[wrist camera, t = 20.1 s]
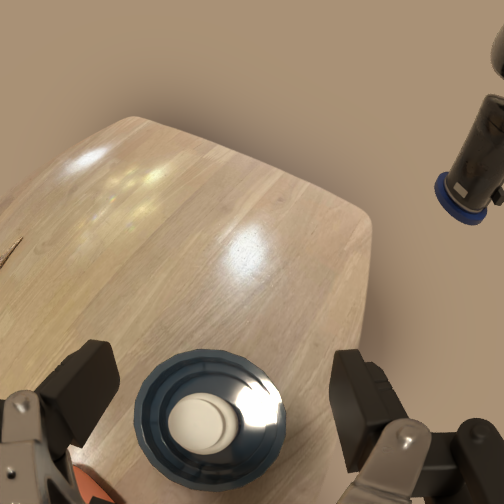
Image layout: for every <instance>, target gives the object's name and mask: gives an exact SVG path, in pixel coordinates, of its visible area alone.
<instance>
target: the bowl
mask: <svg viewBox="0 0 504 504" xmlns="http://www.w3.org/2000/svg"><path fill="white" fill-rule="evenodd" d="M194 393H208V394H212V395H215V396H217V397H220V398H222V399H224V400H226V401H228V402H230V403H231V404H232V405H233V406H234V407H235V408H236V410H237V411H238V413H239V415H240V419H241V427H240V431H239V433H238V435H237V437H236V438H235V439H234V440H233V441H232V442H231V443H230V444H229V445H228V446H227V447H226V448H225V449H223V450H222V451H219V452H217V453H214V454H207V455H202V454H196V453H193V452H190V451H188V450H186V449H185V448H183V447H182V446H181V445H180V444H178V443H177V442H176V441H175V440H174V439H173V437H172V435H171V433H170V431H169V427H168V419H169V415H170V413H171V411H172V409H173V408H174V407H175V405H176V404H177V403H178V402H179V401H180V400H181V399H182V398H184V397H186V396H188V395H191V394H194ZM133 424H134V428H135V432H136V436H137V440H138V443H139V446H140V447H141V449H142V450H143V452H144V454H145V455H146V457H147V458H148V460H149V461H150V463H151V464H152V465H153V466H154V467H155V468H156V469H157V470H158V471H160V472H161V473H162V474H163V475H164V476H166V477H167V478H168V479H170V480H171V481H173V482H175V483H178V484H180V485H182V486H185V487H187V488H190V489H193V490H200V491H209V492H221V491H226V490H231V489H236V488H241V487H243V486H245V485H247V484H248V483H250V482H252V481H254V480H255V479H257V478H259V477H260V476H262V475H263V474H264V473H265V472H266V471H267V469H268V468H269V467H270V466H271V465H272V464H273V463H274V461H275V460H276V459H277V457H278V456H279V453H280V450H281V448H282V445H283V442H284V440H285V437H286V411H285V408H284V405H283V402H282V399H281V396H280V393H279V391H278V389H277V388H276V387H275V385H274V384H273V383H272V381H271V380H270V379H269V377H268V376H267V375H266V374H265V372H264V371H263V370H261V369H260V368H258V367H257V366H256V365H254V364H253V363H251V362H250V361H249V360H247V359H246V358H244V357H241V356H238V355H235V354H232V353H229V352H227V351H224V350H211V349H196V350H192V351H188V352H184V353H180V354H177V355H174V356H173V357H171V358H169V359H168V360H166V361H164V362H163V363H161V364H159V365H158V366H157V367H156V368H155V369H154V370H153V371H152V372H151V373H150V375H149V376H148V377H147V378H146V379H145V380H144V381H143V383H142V386H141V388H140V390H139V393H138V395H137V398H136V400H135V408H134V423H133Z"/></svg>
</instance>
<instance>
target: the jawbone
mask: <svg viewBox="0 0 504 504" xmlns="http://www.w3.org/2000/svg"><path fill="white" fill-rule="evenodd" d="M22 238H23V237H22V236H21V237H20V239H19V240H18V241H17V242H16V243H15V244H14V245H13V246H11V247H10V248H9V249H8V250H7V251H6V252H5V253H4V254H3V255H2V256H1V257H0V266H1V265H2V263H3V262H4V261H5V259H6V258H7V257H8V256H9V254H10V253H11V252H12V251H13V249H14V248H15V247H16V245H17V244H18V243H19V242H20V240H21V239H22Z"/></svg>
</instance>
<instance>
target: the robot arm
mask: <svg viewBox="0 0 504 504" xmlns="http://www.w3.org/2000/svg"><path fill="white" fill-rule="evenodd" d="M491 64H492V67H493V69H494V71H495V72H496V73H497V74H498V75H499V76H500V77H501V78H502V79H503V80H504V25H503V26H502V27H501V29H500V31H499V32H498V34H497V36H496V38H495V40H494V42H493V45H492V49H491ZM503 183H504V97H502V96H499V95H495V94H488V95H486V97H485V98H484V100H483V102H482V105H481V107H480V109H479V112H478V114H477V116H476V119H475V121H474V123H473V126H472V128H471V130H470V132H469V134H468V136H467V138H466V140H465V142H464V144H463V146H462V148H461V150H460V152H459V154H458V156H457V158H456V160H455V162H454V164H453V166H452V168H451V169H450V171H449V173H448V175H447V176H446V177H445V179H444V182H443V186H444V190H445V192H446V194H447V196H448V197H449V199H450V200H451V201H452V202H453V203H454V204H455V205H456V206H457V207H458V208H460V209H461V210H463V211H465V212H467V213H469V214H479V213H480V212H481V211H482V210H483V209H486V207H487V206H488V204H489V203H490V202H491V200H492V201H493V203H494V205H498V206H501V205H502V203H503V202H504V190H503V189H502V187H501V186H502V185H503ZM119 385H120V376H119V372H118V369H117V365H116V362H115V358H114V354H113V351H112V347H111V345H110V343H109V342H106V341H99V340H92V339H90V340H88V341H87V342H86V343H85V344H84V345H83V346H82V347H81V348H80V349H79V350H78V351H76V352H74V353H72V354H70V355H69V356H67V357H66V358H65V359H64V360H63V361H62V362H61V365H58V366H57V367H56V369H55V371H53V372H52V373H51V374H50V375H49V376H48V377H47V378H46V379H45V380H44V381H43V382H42V383H41V384H40V385H39V386H38V387H37V388H36V390H35V391H34V392H33V391H30V390H20V391H17V392H15V393H13V394H11V395H10V396H9V397H8V398H7V399H6V400H1V399H0V504H86V503H85V501H84V500H83V498H82V496H81V494H80V491H79V488H78V485H77V481H76V477H75V474H74V470H73V465H72V461H71V457H70V453H69V451H68V449H67V448H68V446H69V445H70V444H71V445H74V446H76V447H79V448H83V446H84V444H85V443H86V441H87V439H88V438H89V436H90V434H91V433H92V431H93V430H94V428H95V426H96V425H97V423H98V421H99V420H100V418H101V416H102V415H103V413H104V412H105V410H106V408H107V407H108V405H109V404H110V402H111V400H112V399H113V397H114V396H115V394H116V393H117V391H118V389H119ZM329 400H330V405H331V408H332V412H333V416H334V420H335V424H336V427H337V431H338V435H339V439H340V443H341V447H342V451H343V455H344V459H345V464H346V468H347V472H348V473H353V472H359V474H358V475H357V477H356V479H355V480H354V482H352V483H351V484H350V485H349V486H348V488H347V489H346V491H345V492H344V493H343V495H342V496H341V498H340V499H339V500H338V502H337V503H336V504H412V500H410V497H423V498H424V501H425V504H504V440H503V438H502V437H501V436H500V434H499V432H498V431H497V429H496V428H495V426H494V425H493V424H492V423H490V422H489V421H487V420H484V419H481V418H472V419H468V420H466V421H465V422H463V423H462V424H461V425H460V427H459V428H458V431H457V432H448V433H433V432H430V430H429V429H428V428H427V426H425V425H424V424H423V423H421V422H419V421H417V420H413V419H409V417H408V416H407V413H406V412H405V410H404V408H403V406H402V404H401V402H400V401H399V398H398V397H397V395H396V393H395V391H394V390H393V389H392V386H391V384H390V382H389V381H388V379H387V377H386V375H385V374H384V371H383V370H382V369H381V368H380V367H378V366H377V365H376V364H374V363H373V362H364V360H363V358H362V356H361V354H360V352H359V350H358V349H351V350H337V351H335V354H334V359H333V366H332V372H331V378H330V384H329ZM89 504H116V503H113V502H109V501H106V500H104V499H101V498H98V497H95V496H92V498H91V500H90V502H89Z"/></svg>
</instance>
